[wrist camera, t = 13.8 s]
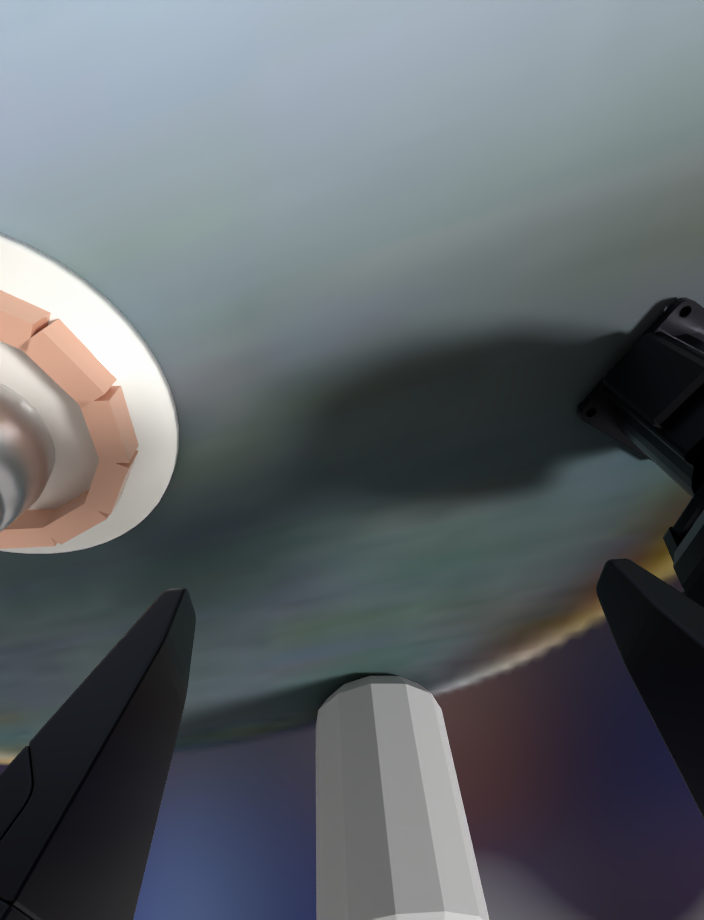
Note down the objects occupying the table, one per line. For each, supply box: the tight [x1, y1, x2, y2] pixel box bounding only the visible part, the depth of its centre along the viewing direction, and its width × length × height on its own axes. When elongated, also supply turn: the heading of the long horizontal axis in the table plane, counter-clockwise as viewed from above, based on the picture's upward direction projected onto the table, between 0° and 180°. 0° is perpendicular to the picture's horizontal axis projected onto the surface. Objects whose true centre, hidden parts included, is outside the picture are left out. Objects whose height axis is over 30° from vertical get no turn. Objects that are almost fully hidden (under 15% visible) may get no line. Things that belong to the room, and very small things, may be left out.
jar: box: [316, 676, 489, 920], centre depth 29 cm, size 10×10×18 cm
